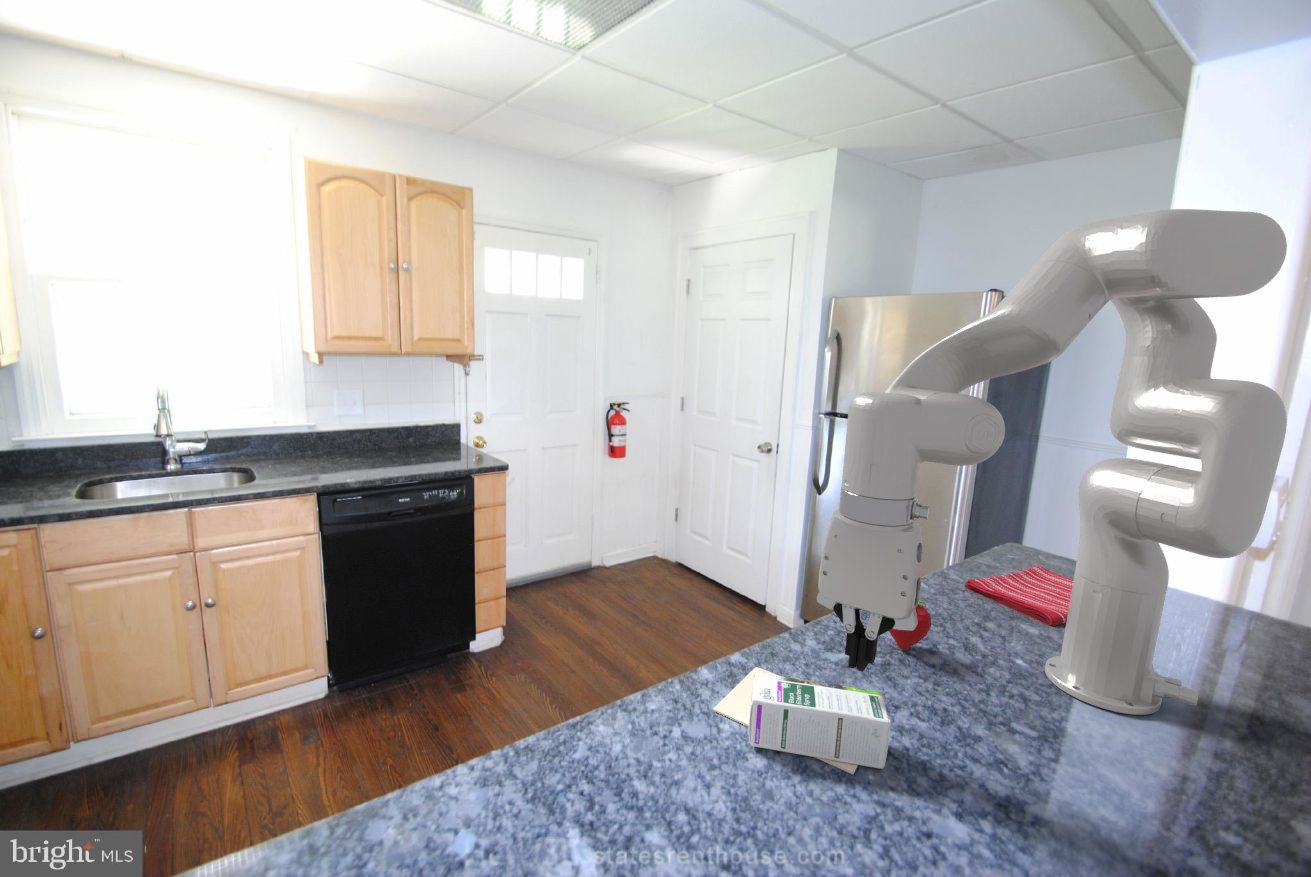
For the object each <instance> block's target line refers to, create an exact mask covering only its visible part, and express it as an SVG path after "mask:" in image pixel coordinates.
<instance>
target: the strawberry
mask: <svg viewBox="0 0 1311 877" xmlns="http://www.w3.org/2000/svg"><path fill="white" fill-rule="evenodd" d="M922 603H925V601H923V600H921V599H919V603H918V606H917V607H915V608H916V614H917V621H918V624H917V626H916V627H915V629H914V630H912V631H910V630H897V629H891V630H889V631H888V632H889V634H890V635H891V637H892V639H893V640H894V641H895V643H896V645H897V647H898V648H899V649H900V650H903V651H906V650H909V649H910V648H911V647H913V646H915V645H917V644H918V643H920V641H921V640H923V639H924V638H925V637H926V636H927V635H928V633H929V631H930V630H931V627H932V624H933V623H932V617H931V614H930V613H929V611H928V609H927V608H926V607H925V605H924V604H922Z"/></svg>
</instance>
